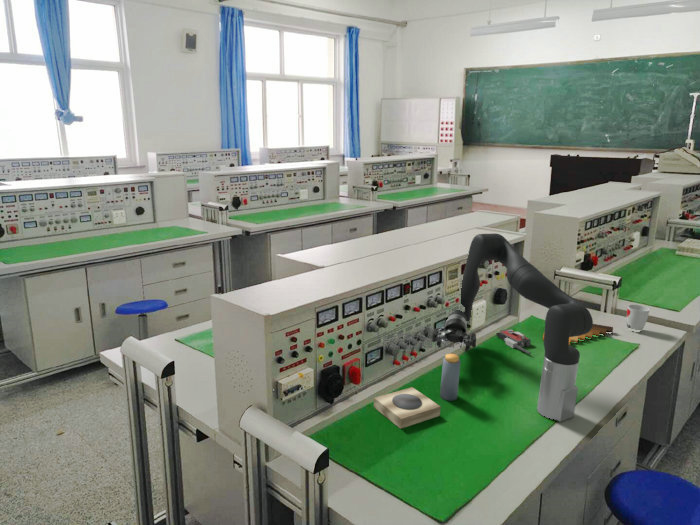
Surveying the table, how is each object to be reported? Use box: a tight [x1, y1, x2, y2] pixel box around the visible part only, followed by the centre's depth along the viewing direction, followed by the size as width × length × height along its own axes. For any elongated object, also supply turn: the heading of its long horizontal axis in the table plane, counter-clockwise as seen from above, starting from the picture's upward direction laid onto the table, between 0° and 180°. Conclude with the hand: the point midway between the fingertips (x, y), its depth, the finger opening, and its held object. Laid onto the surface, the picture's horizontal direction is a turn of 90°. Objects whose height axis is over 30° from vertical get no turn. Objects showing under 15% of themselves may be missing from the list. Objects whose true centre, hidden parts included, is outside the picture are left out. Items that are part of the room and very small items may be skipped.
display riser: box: [373, 386, 442, 430], centre depth 156 cm, size 13×14×3 cm
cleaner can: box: [439, 353, 462, 402], centre depth 164 cm, size 5×5×13 cm
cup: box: [626, 304, 650, 331], centre depth 225 cm, size 8×8×10 cm
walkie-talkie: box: [495, 328, 532, 355], centre depth 207 cm, size 9×4×20 cm
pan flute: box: [542, 323, 614, 346], centre depth 217 cm, size 25×3×25 cm
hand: (453, 346), depth 174 cm, fingers open, 8 cm apart
